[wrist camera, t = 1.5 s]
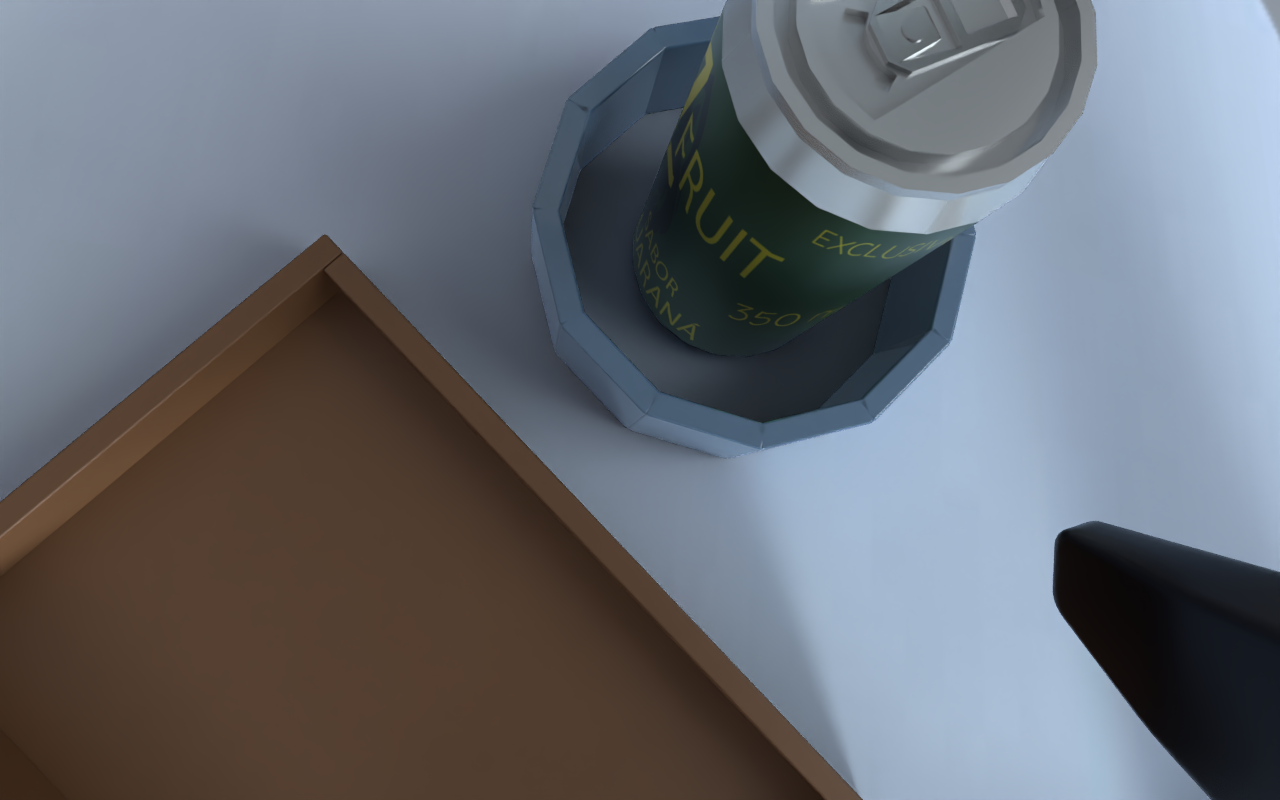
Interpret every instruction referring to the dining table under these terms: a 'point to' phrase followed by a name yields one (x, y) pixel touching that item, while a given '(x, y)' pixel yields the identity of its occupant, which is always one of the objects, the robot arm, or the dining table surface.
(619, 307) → the dining table surface
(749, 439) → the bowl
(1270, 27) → the dining table surface
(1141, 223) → the dining table surface
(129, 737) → the tray
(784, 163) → the beer can
